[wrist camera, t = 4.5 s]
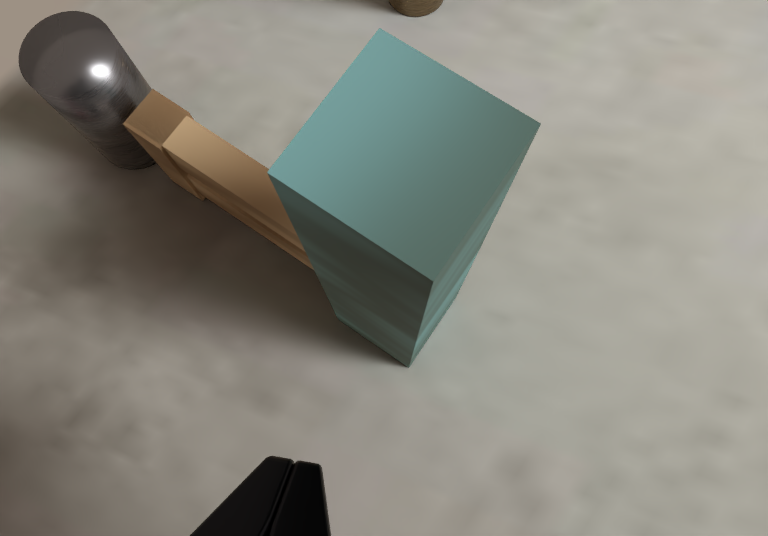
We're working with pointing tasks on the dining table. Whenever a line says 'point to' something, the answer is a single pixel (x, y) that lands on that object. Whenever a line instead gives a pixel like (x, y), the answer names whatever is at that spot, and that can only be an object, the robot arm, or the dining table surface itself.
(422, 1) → the post
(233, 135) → the dining table surface
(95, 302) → the dining table surface
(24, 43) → the hinge post
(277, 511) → the robot arm
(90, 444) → the dining table surface
